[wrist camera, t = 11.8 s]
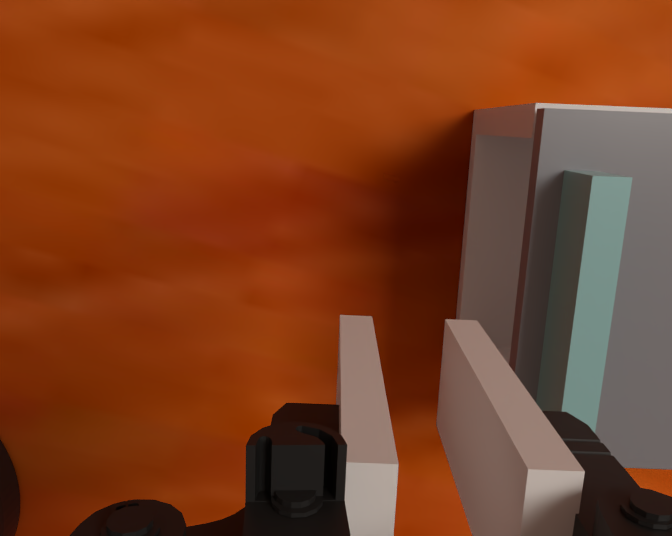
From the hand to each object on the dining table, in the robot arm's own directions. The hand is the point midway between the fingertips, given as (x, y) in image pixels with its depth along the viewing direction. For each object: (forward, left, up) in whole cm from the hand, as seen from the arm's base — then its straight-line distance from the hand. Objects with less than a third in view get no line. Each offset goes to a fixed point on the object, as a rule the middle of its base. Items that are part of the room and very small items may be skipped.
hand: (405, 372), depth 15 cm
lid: (+10, 0, -8) cm, 13 cm away
